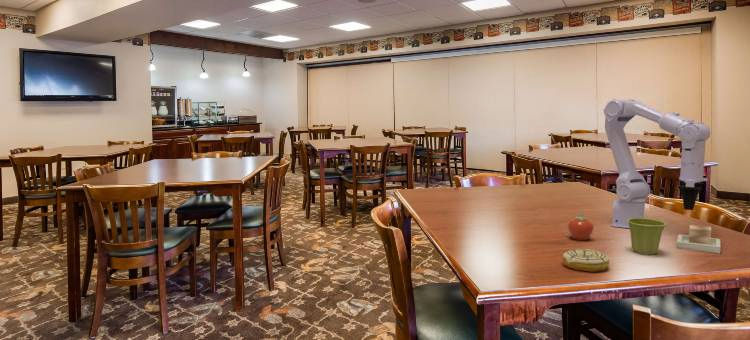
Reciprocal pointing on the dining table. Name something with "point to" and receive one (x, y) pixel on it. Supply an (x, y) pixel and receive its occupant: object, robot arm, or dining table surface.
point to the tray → (684, 244)
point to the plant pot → (645, 234)
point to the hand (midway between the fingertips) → (689, 207)
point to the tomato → (580, 228)
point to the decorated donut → (586, 260)
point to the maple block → (700, 234)
